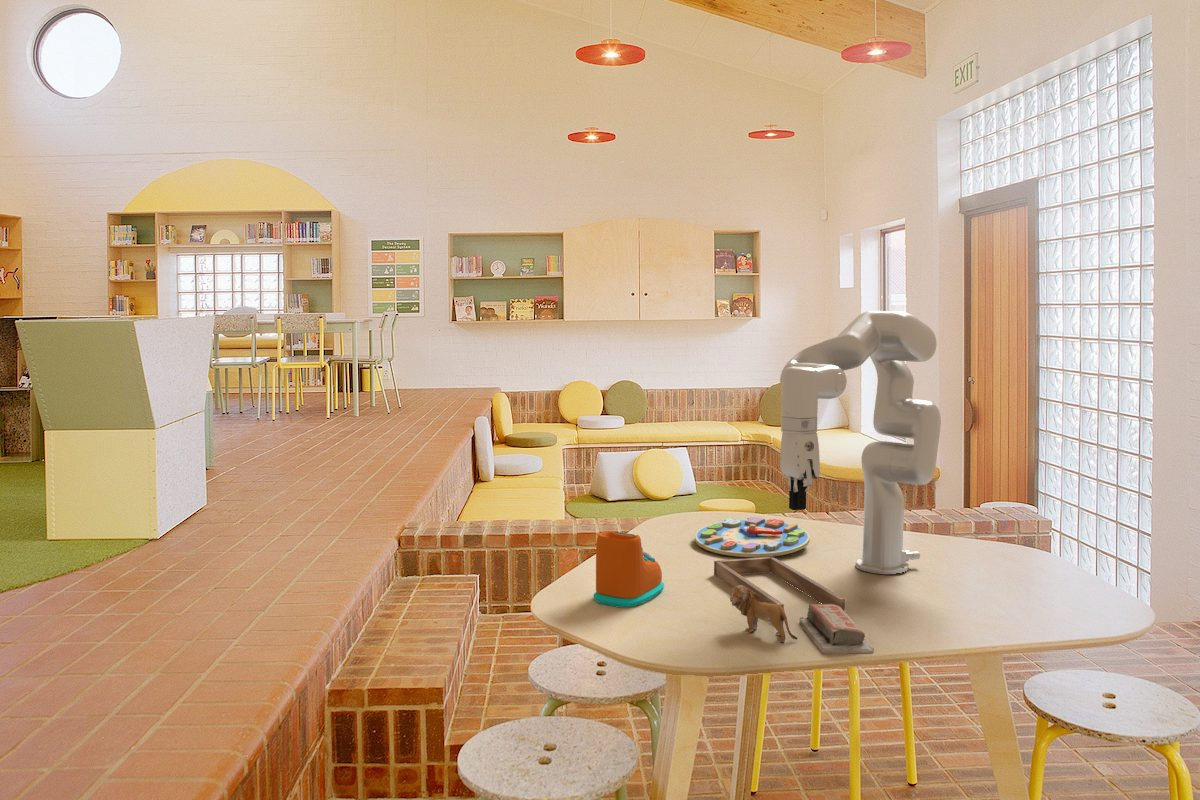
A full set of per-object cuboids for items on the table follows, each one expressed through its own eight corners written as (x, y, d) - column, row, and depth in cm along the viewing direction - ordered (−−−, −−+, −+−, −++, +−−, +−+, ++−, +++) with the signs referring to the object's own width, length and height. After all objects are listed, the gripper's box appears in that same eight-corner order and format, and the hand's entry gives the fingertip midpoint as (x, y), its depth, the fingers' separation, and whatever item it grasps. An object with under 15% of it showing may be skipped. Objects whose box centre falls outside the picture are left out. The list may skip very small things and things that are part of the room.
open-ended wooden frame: (772, 570, 244) (772, 556, 243) (844, 615, 210) (845, 598, 210) (714, 575, 239) (714, 560, 239) (778, 621, 206) (778, 604, 206)
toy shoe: (673, 588, 229) (674, 524, 227) (633, 611, 212) (633, 543, 210) (627, 580, 235) (627, 518, 233) (584, 602, 218) (584, 536, 216)
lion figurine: (725, 630, 201) (726, 586, 200) (738, 623, 205) (738, 580, 204) (791, 645, 192) (792, 600, 191) (803, 638, 196) (804, 593, 195)
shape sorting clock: (672, 547, 266) (672, 525, 266) (734, 527, 289) (734, 507, 289) (771, 568, 247) (771, 545, 246) (829, 545, 270) (830, 523, 269)
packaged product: (798, 601, 205) (845, 601, 205) (797, 624, 205) (845, 623, 206) (823, 631, 187) (875, 630, 188) (822, 656, 188) (874, 655, 188)
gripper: (832, 428, 205) (830, 515, 207) (798, 419, 220) (797, 500, 222) (799, 430, 203) (797, 518, 205) (767, 420, 217) (766, 503, 220)
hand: (797, 509), depth 213 cm, fingers closed
